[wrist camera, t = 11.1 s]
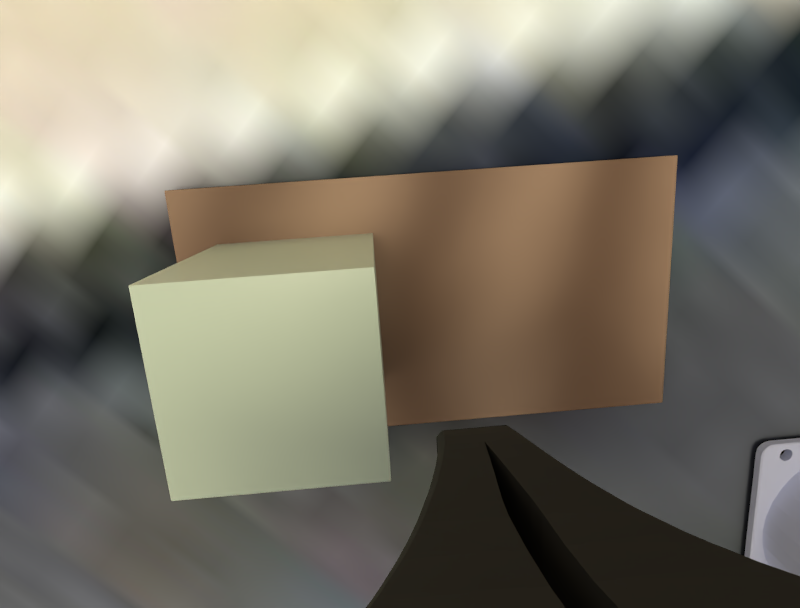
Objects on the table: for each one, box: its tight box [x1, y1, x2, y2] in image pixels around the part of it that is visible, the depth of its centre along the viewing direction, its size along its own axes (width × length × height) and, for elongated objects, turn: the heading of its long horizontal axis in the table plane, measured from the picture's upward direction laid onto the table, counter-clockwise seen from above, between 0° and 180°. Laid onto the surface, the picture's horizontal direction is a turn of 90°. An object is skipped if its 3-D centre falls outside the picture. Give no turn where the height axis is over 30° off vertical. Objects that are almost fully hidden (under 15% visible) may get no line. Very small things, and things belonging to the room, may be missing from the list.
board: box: [165, 155, 677, 426], centre depth 19 cm, size 17×9×1 cm, turn 94°
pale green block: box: [129, 233, 391, 501], centre depth 15 cm, size 5×5×7 cm
